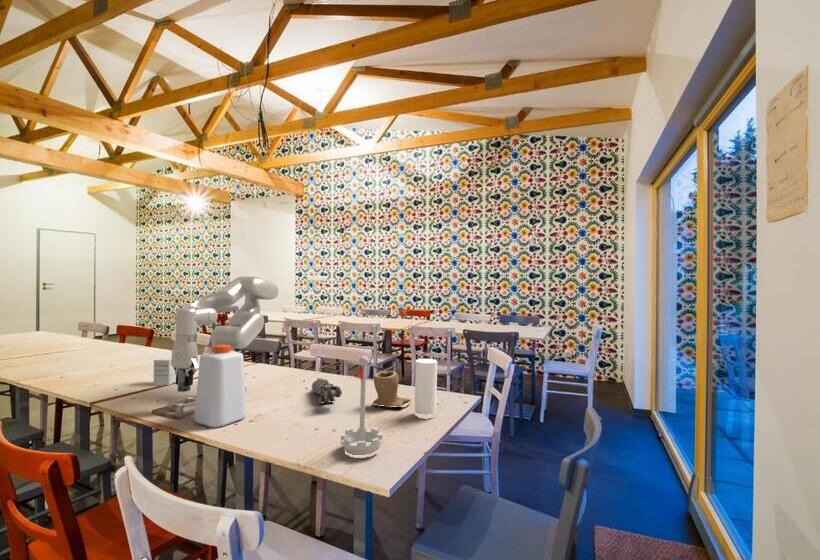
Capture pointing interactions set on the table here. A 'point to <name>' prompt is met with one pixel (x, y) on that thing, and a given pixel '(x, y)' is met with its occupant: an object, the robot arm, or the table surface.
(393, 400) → the stone cup
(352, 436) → the flag stand
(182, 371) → the gold topped cylinder
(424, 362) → the tall white tube
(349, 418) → the table surface
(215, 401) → the plastic bottle
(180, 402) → the docking plate
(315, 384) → the grey lumpy piece
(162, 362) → the supplement box
